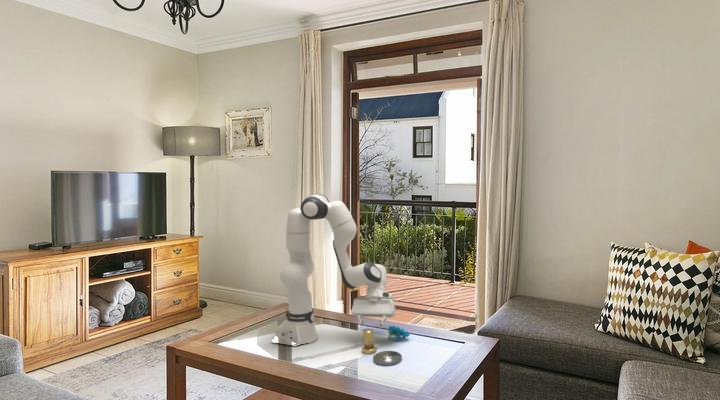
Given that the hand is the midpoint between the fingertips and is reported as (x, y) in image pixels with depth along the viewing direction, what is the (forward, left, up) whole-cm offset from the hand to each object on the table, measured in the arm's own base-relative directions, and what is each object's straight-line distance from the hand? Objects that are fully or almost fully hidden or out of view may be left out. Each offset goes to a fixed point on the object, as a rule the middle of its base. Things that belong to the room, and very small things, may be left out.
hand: (371, 325), depth 201 cm
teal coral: (+10, +10, -10) cm, 17 cm away
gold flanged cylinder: (0, -5, -10) cm, 11 cm away
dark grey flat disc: (+10, -12, -10) cm, 18 cm away
